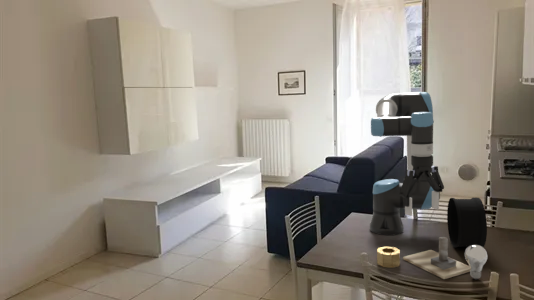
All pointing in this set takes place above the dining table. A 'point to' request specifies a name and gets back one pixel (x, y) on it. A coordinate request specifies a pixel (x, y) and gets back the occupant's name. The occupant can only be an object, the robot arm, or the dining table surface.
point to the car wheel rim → (466, 222)
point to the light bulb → (475, 259)
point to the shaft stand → (438, 261)
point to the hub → (388, 257)
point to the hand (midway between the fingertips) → (422, 211)
